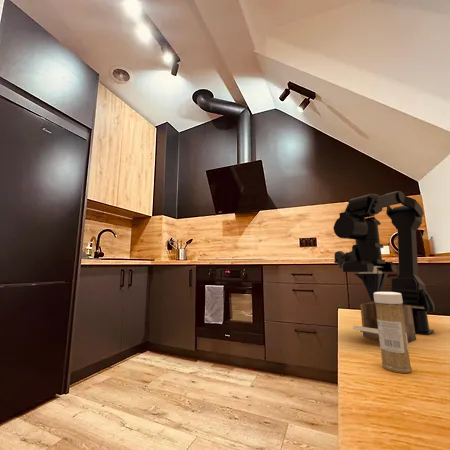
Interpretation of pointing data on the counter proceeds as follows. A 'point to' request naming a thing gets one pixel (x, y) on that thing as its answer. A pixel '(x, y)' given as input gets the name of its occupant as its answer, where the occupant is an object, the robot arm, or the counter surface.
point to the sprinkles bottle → (392, 332)
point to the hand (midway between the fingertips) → (374, 300)
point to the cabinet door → (366, 329)
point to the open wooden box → (371, 322)
